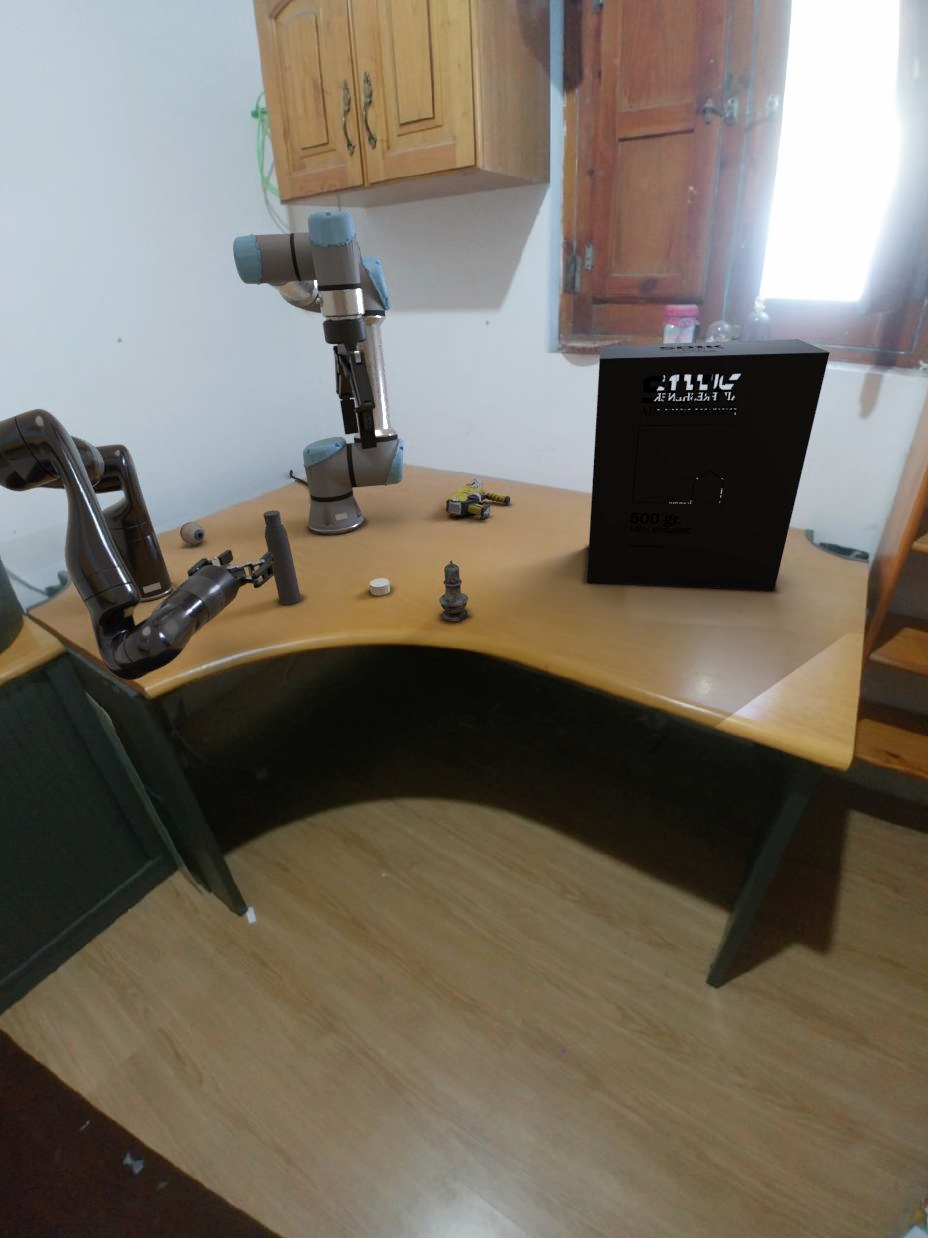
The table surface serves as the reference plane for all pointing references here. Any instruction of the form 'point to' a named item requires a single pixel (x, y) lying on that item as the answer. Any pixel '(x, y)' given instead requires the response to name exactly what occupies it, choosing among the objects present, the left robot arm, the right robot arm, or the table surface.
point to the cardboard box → (699, 461)
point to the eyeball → (192, 533)
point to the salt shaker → (453, 595)
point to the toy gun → (473, 500)
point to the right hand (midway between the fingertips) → (360, 440)
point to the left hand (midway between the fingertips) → (250, 555)
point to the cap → (379, 586)
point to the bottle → (281, 559)
